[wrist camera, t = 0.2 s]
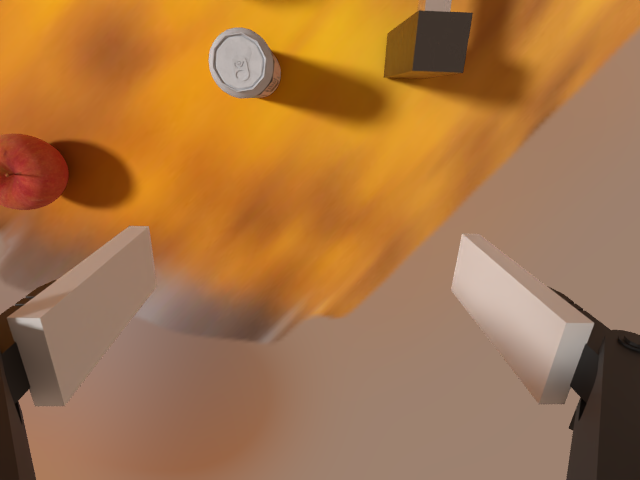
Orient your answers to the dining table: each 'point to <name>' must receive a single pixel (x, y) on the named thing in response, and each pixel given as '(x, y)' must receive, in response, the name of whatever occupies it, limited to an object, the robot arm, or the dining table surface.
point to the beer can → (244, 64)
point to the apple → (30, 172)
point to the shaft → (428, 42)
